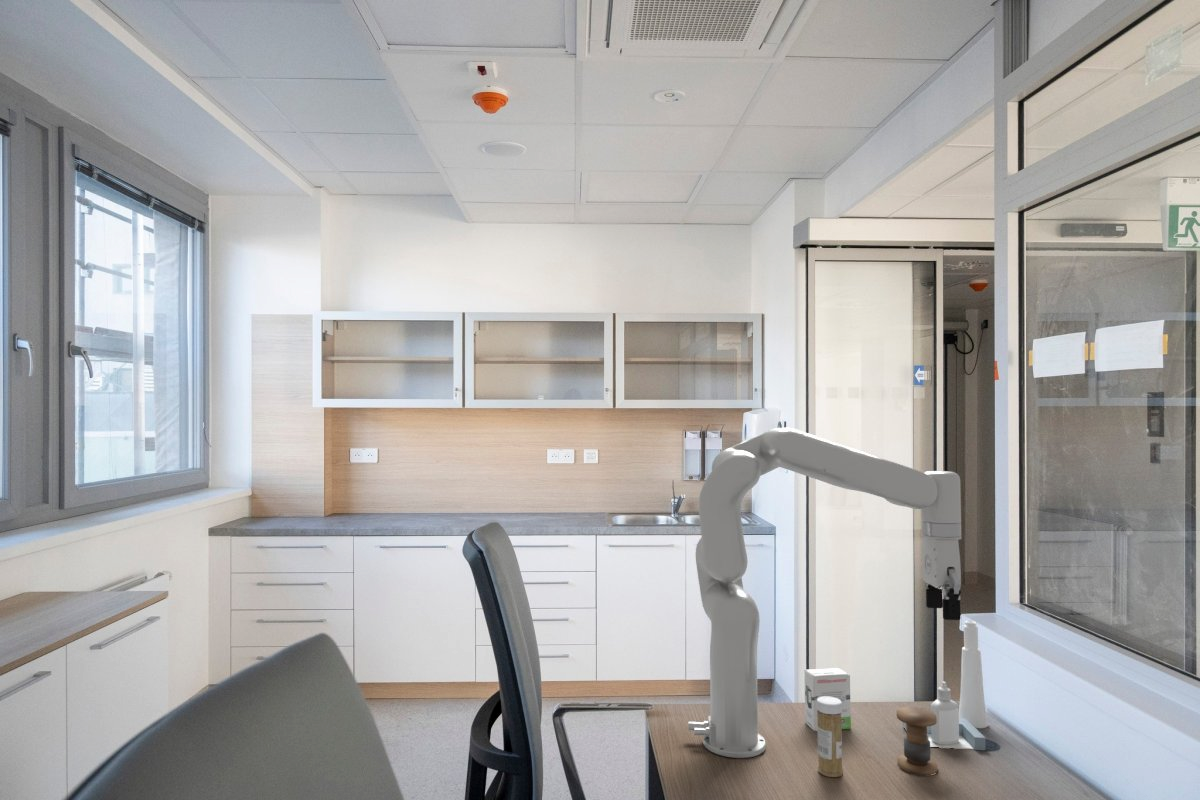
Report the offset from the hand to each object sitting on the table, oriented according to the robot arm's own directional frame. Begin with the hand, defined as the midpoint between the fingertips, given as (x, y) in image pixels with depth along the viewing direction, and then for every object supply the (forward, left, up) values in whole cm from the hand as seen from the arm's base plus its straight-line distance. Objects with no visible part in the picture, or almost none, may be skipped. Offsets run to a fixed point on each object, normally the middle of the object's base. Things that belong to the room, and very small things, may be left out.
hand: (942, 613), depth 150 cm
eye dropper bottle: (0, 0, -26) cm, 26 cm away
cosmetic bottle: (+10, +11, -26) cm, 30 cm away
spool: (-9, -12, -26) cm, 30 cm away
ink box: (-22, +6, -26) cm, 35 cm away
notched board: (0, +2, -26) cm, 26 cm away
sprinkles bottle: (-26, -16, -26) cm, 41 cm away
